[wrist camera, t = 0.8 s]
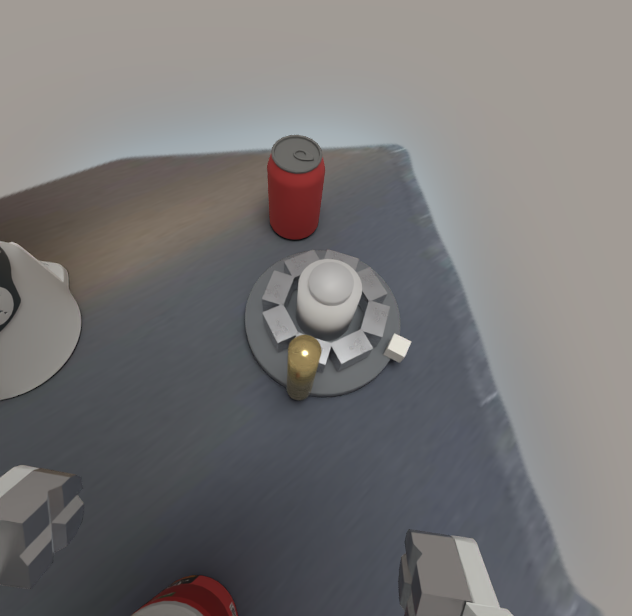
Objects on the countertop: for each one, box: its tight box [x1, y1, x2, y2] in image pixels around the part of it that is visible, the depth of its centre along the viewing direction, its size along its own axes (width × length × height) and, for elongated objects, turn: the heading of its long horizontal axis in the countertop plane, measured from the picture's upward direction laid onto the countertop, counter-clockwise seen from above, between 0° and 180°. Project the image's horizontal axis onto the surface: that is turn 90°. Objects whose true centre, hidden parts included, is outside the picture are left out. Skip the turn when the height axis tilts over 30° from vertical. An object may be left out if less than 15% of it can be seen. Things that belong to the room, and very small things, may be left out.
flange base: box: [245, 251, 411, 397], centre depth 42 cm, size 19×18×10 cm
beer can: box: [267, 135, 325, 240], centre depth 48 cm, size 7×7×12 cm
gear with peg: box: [262, 249, 390, 400], centre depth 39 cm, size 17×13×12 cm
